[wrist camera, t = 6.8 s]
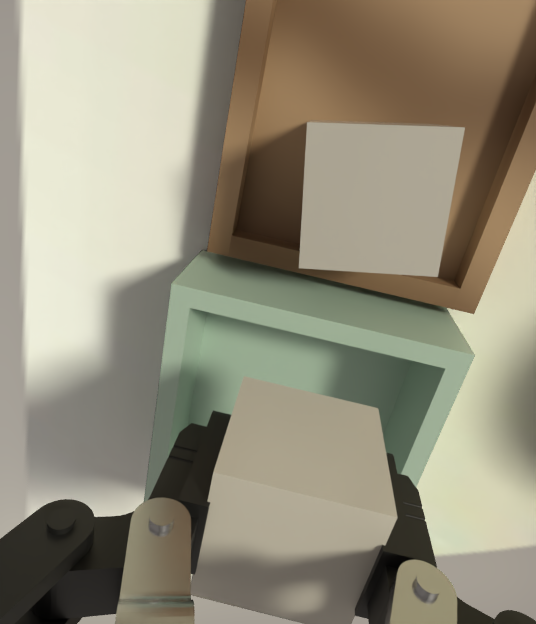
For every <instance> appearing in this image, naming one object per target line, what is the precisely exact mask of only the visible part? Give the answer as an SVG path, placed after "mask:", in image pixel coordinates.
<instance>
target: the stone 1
mask: <svg viewBox="0 0 536 624" xmlns="http://www.w3.org/2000/svg"><path fill="white" fill-rule="evenodd" d="M207 502H210V506H209V511H208V516H207V521H206V526H205V530H204V535H203V540H202V545H201V550H200V555H199V560H198V564H197V569H196V573H195V575H194V574H193V575H192V581H191V595H193V596H197V597H201V598H205V599H209V600H213V601H217V602H221V603H224V604H228V605H232V606H237V607H241V608H244V609H248V610H252V611H256V612H260V613H264V614H268V615H272V616H276V617H280V618H284V619H288V620H292V621H296V622H300V623H304V624H351V623H352V621H353V619H354V616H355V607H356V605H357V602H358V600H359V598H360V596H361V593H362V591H363V589H364V586H365V584H366V582H367V579H368V577H369V575H370V572H371V570H372V568H373V565H374V563H375V561H376V558H377V556H378V554H379V551H380V549H381V547H382V545H386V543H387V540H388V538H389V536H390V534H391V531H392V529H393V527H394V524H395V522H396V520H397V512H396V506H395V500H394V495H393V489H392V483H391V478H390V472H389V466H388V461H387V455H386V449H385V444H384V438H383V432H382V427H381V421H380V415H379V410H378V408H375V407H371V406H367V405H363V404H358V403H354V402H350V401H346V400H342V399H338V398H333V397H329V396H325V395H321V394H317V393H312V392H308V391H304V390H300V389H296V388H292V387H287V386H283V385H279V384H275V383H271V382H266V381H262V380H258V379H254V378H250V377H246V376H244V377H243V380H242V383H241V386H240V390H239V393H238V396H237V399H236V402H235V405H234V409H233V412H232V415H231V418H230V421H229V424H228V427H227V431H226V434H225V437H224V440H223V443H222V446H221V450H220V453H219V456H218V459H217V462H216V465H215V469H214V472H213V476H212V481H211V486H210V491H209V496H208V501H207Z"/></svg>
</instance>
